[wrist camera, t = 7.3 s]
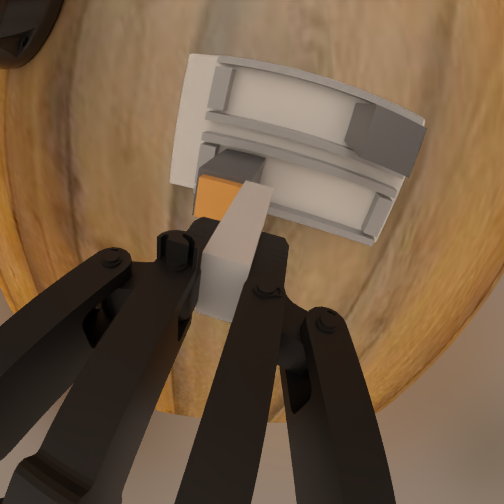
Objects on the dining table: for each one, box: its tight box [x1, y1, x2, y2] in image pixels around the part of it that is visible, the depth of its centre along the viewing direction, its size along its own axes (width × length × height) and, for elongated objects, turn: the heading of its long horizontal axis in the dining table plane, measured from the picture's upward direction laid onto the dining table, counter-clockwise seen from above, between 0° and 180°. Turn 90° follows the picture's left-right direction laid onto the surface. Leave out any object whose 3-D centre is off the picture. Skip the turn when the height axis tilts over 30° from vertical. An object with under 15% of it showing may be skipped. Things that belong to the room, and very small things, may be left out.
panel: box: [169, 54, 427, 247], centre depth 17 cm, size 18×11×8 cm, turn 77°
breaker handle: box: [192, 149, 266, 221], centre depth 17 cm, size 3×3×6 cm
